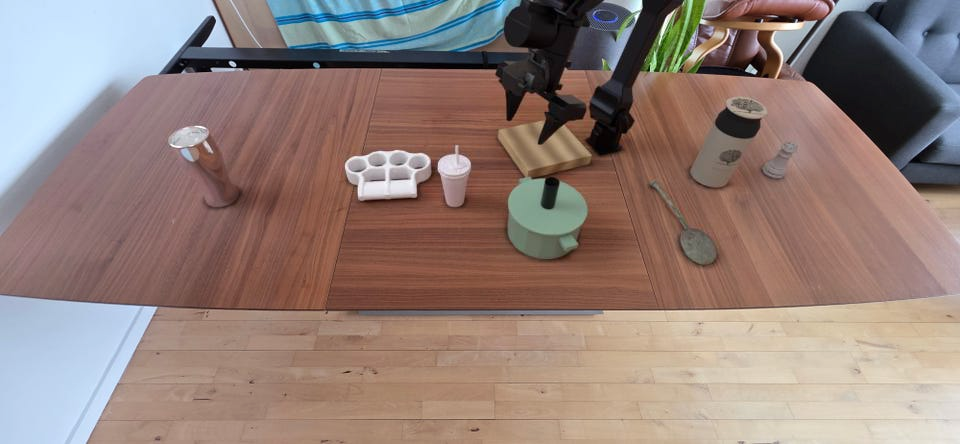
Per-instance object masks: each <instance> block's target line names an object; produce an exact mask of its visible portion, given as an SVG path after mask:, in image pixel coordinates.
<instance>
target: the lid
mask: <svg viewBox="0 0 960 444" xmlns="http://www.w3.org/2000/svg"><path fill="white" fill-rule="evenodd" d="M507 208H508V213H509V212H510V214H511V216H512V218H513V219H514V220H515V221H516V222H517V223H518V224H519V225H520V226H522V227H523V228H525V229H527V230H529V231H531V232H533V233H536V234H540V235H545V236H560V235H565V234H569V233H571V232H573V231H575V230H577V229H578V228H579V227H580V226H581V227H582V226H583V224H584V223H585V222H586V220H587V216H588V211H589V209H588V204H587V202H586V200H585V198H584V196H583V195H582V194H581V193H580V192H579V191H578V190H577V189H575V187H573V186H571V185H570V184H567V183H565V182H563V181H560V180H559V179H558V178H557V177H554V176H548V177H546V178H532V180H529V181H525V182H523V183H521V184H519V183H518V185H516V186H515V187H514V188H513V189H512V191H511V192H510V193H509V196H508V199H507Z"/></svg>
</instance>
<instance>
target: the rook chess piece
mask: <svg viewBox="0 0 960 444" xmlns="http://www.w3.org/2000/svg"><path fill="white" fill-rule="evenodd" d="M798 147H799V145H798V144H796V142H793V143H792V141H791V140H788V141H785V142H784V143H782V144H780V149H779V150H778V153H777V154H776V155H775V157H774V158H773V159H771V160H769V161H767V162H766V163H765V164H764V166H762V172H763V174H764V175H765V176H767V177H768V178H771V179H775V180H776V179H777V180H778V179H781V178H784V175H785V174H786V172H787V164H788V162H789V160H790V159H791V158H793V154H795V153H797V152H798Z"/></svg>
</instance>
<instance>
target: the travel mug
mask: <svg viewBox="0 0 960 444" xmlns="http://www.w3.org/2000/svg"><path fill="white" fill-rule="evenodd" d="M767 115H768V109H767V107H766V106H765V105H764V104H763V103H762V102H760V101H758V100H756V99H753V98H751V97H747V96H731V97H729V98H727V100H726V101H725V108H724V109H722V110H721V111H720V112H719V113H718V115H717V116H716V118H715V120H714V122H713V124H712V126H711V128H710V129H709V132H708V134H707V136H706V137H705V140H704V142H703V144H702V146H701V148H700V150H699V152H698V153H697V155H696V157H695V160H694V161H693V163H692V165H691V168H690V171H689V173H690V175H691V177H692V178H693V179H694V180H695V181H696V182H697V183H699V184H701V185H703V186H706V187H709V188H722V187H724V186H727V184H728V182H729V181H730V179H731V177H732V176H733V174H734V173H735V171H736V169H737V167H738V165H739V164H740V163H741V160H742V159H743V158H744V156H745V154H746V153H747V151H748V150H749V147H750V146H751V144H752V143H753V141H754V139H755V138H756V136H757V134H758V132H759V131H760V129H761V127H762V126H761V125H762V123H761V120H762V119H763V118H765V117H766V116H767Z"/></svg>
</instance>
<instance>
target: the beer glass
mask: <svg viewBox="0 0 960 444" xmlns="http://www.w3.org/2000/svg"><path fill="white" fill-rule="evenodd" d="M167 143H168V144H169V146H170V148H171V150H172V152H173V154H174V156H175V158H176V160H177V162H178V163H179V165H180V166H181V168H182V169H183V171H184V172H185V173H186V174H187V175H188V176H189V177H190V178H191V179H192V181H193V182H195V183H196V185H197V186H198V187H199V189H200V190H201V192H202V194H203V197H204V200H205V203H206V204H207V205H208V206H209V207H212V208H223V207H227V206H229V205H231V204H233V203H234V202H235V201H237V199H238V198H239V195H240V192H239V189H238V188H237V187H236V186H235V185H234V183H233V182H232V180H231V179H230V176H229V173H228V170H227V167H226V162H225V158H224V157H223V153H222V151H221V149H220V146H218V143H217V142H216V141H215V139H214V137H213V136H212V133H210V130H209V129H208V128H207V127H205V126H203V125H190V126H184V127H182V128H179V129H177V130H175V131H174V132H172V133H171V134H170V135H169V137H168V139H167Z"/></svg>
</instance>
